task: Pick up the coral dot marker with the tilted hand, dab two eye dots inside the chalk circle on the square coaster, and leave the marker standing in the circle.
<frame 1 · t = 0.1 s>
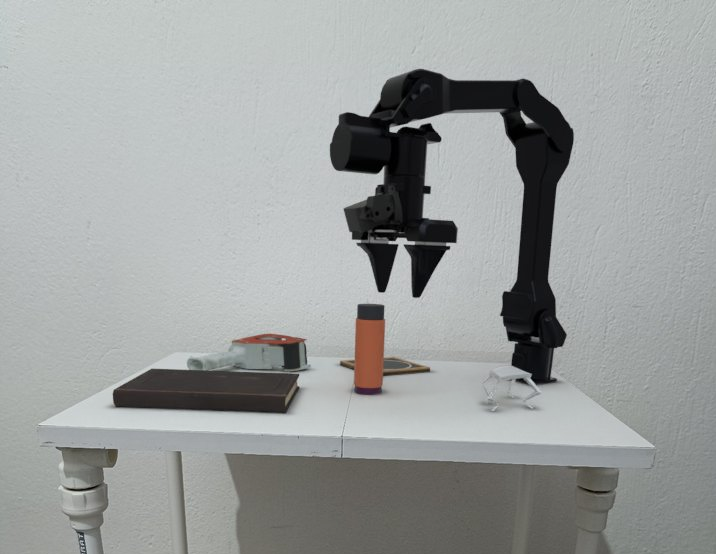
hand: (398, 294, 96), 15 cm above the table, tool pointing down, fingers open, 9 cm apart
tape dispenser: (253, 368, 118), on the table
dot marker: (368, 391, 102), on the table
square coaster: (384, 368, 121), on the table
hardcover book: (213, 398, 96), on the table
white legged figure: (507, 404, 97), on the table
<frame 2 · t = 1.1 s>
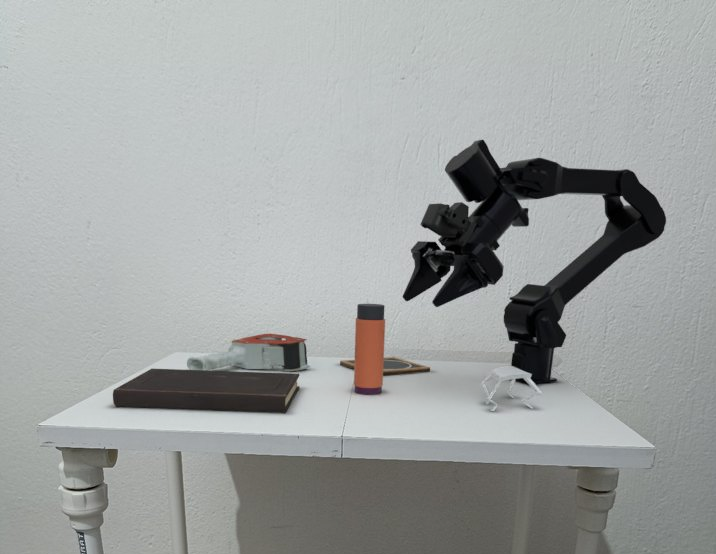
hand: (418, 301, 101), 13 cm above the table, tool tilted 45°, fingers open, 9 cm apart
nothing on the table moved.
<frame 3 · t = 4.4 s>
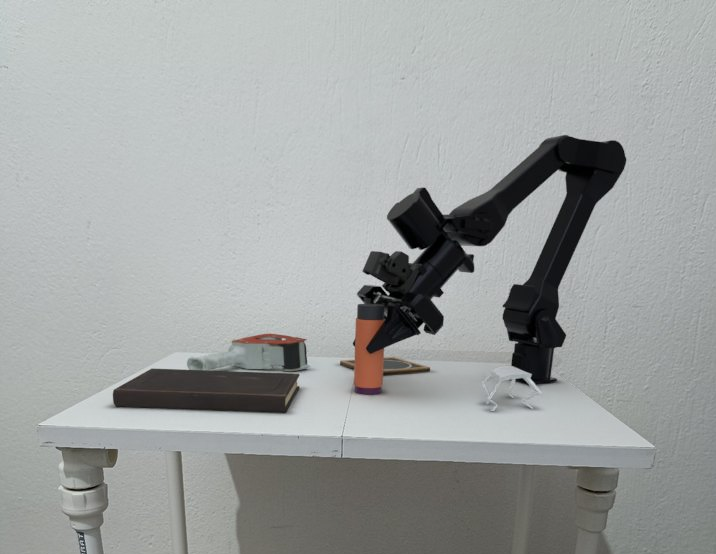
hand: (361, 349, 99), 7 cm above the table, tool tilted 45°, fingers closed on dot marker, 4 cm apart
dot marker: (368, 391, 102), on the table, touching gripper
everything else where it was.
when the fingers open (7 cm above the table, at t = 12.7 s): dot marker stays where it is, resting on square coaster.
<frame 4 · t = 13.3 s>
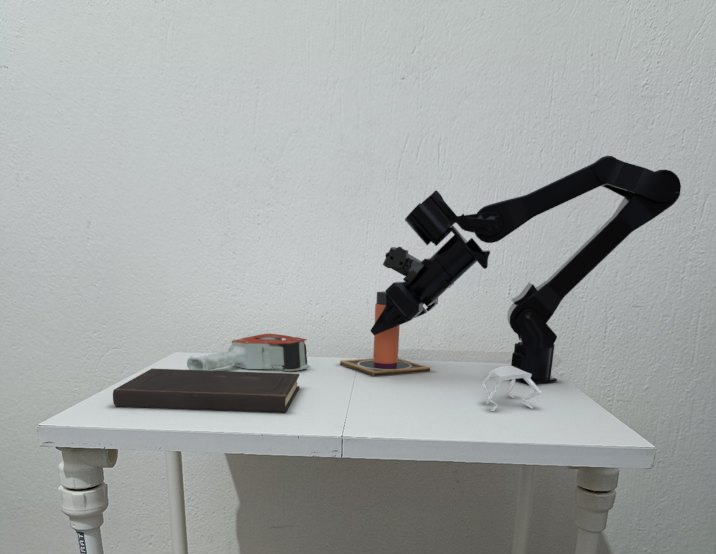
hand: (379, 329, 117), 7 cm above the table, tool tilted 45°, fingers open, 9 cm apart
dot marker: (385, 367, 119), point 1 cm above the table, touching square coaster
everything else where it was.
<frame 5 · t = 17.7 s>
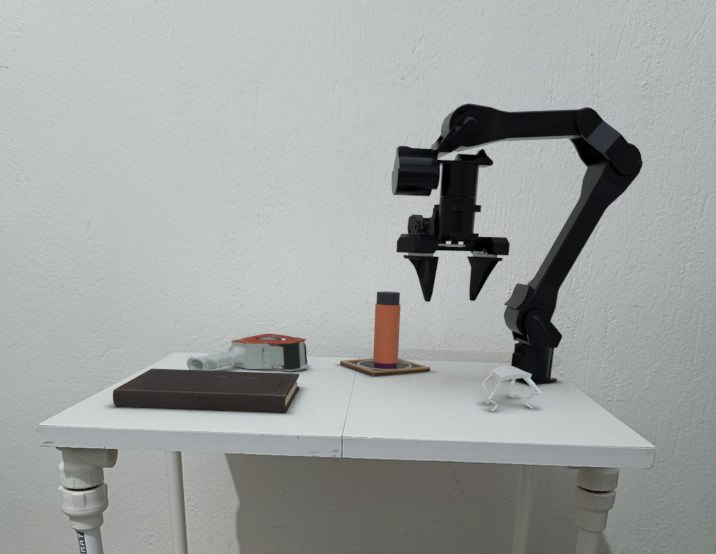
hand: (450, 301, 108), 13 cm above the table, tool pointing down, fingers open, 9 cm apart
nothing on the table moved.
at the end: dot marker inside the target area on the square coaster (1.9 cm from its centre), point 0.6 cm above the square coaster's base; dot marker tilted 0°; dot marker moved 18.5 cm from its start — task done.
